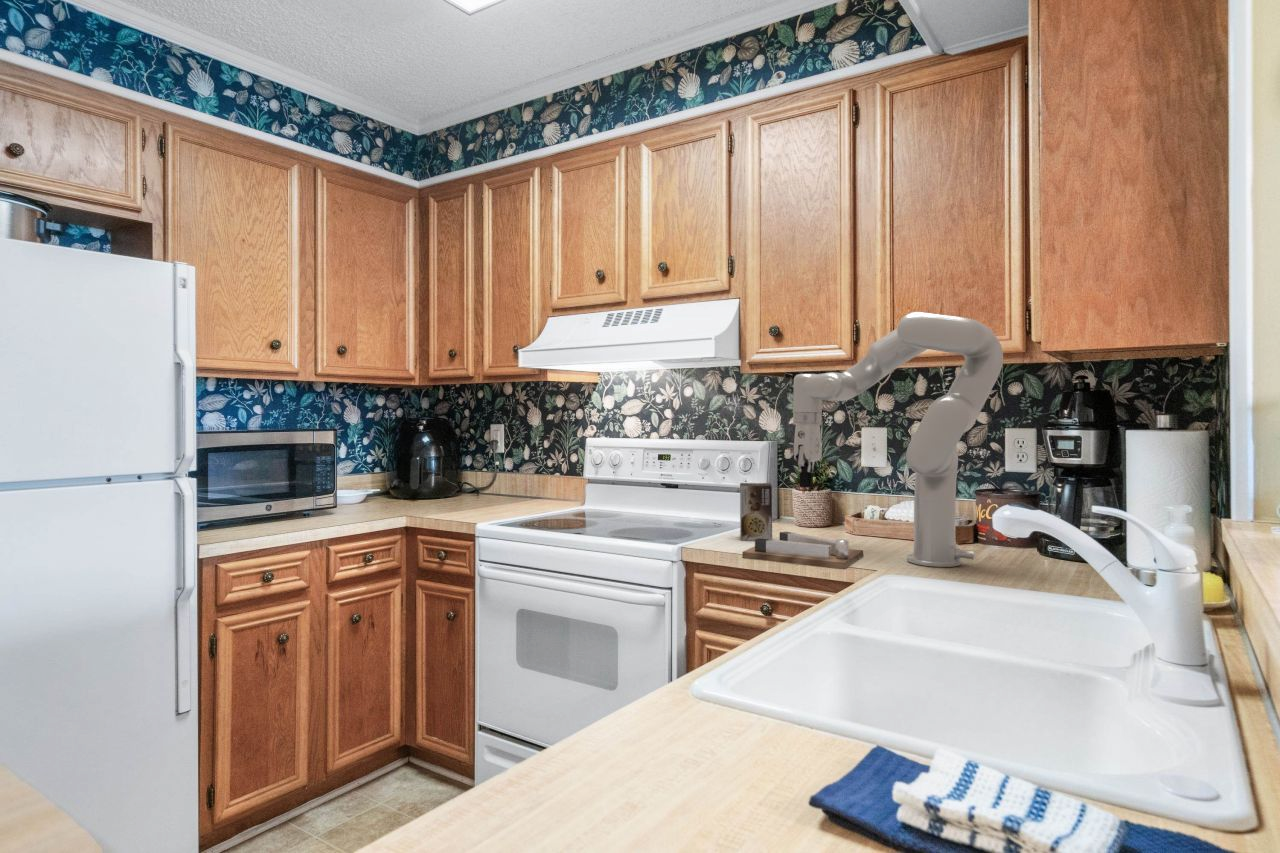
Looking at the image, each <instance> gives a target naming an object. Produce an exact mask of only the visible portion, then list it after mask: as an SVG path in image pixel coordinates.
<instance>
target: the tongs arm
mask: <svg viewBox="0 0 1280 853" xmlns="http://www.w3.org/2000/svg"><path fill="white" fill-rule="evenodd" d="M779 540H781V541H792V542H802V543H812V544H823V545H831V554H832V555H836V540H833V539H827V538H823V537H816V536H812V535H806V534H800V533H795V532H791V531H781V532H779Z"/></svg>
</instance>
